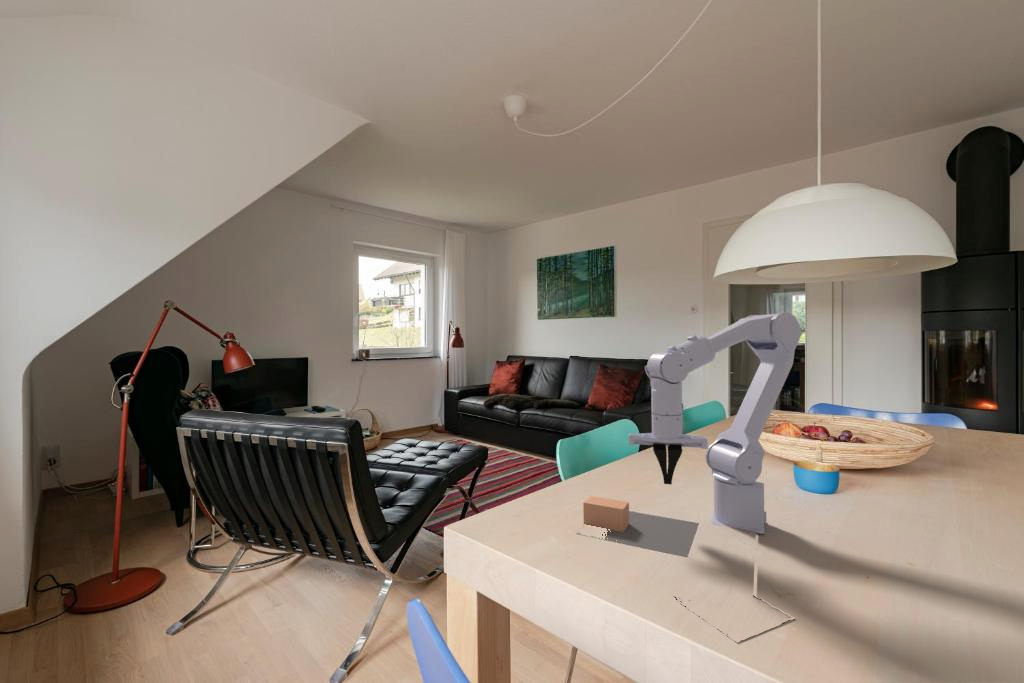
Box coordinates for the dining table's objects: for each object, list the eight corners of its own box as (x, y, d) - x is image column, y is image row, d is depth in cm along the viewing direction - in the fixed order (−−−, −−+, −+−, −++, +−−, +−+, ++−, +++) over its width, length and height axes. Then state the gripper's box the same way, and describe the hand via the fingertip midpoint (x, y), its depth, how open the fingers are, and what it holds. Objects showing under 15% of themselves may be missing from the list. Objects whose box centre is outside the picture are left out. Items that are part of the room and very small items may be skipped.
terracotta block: (628, 502, 90) (590, 495, 94) (622, 509, 87) (583, 502, 90) (629, 523, 90) (591, 516, 94) (623, 532, 87) (583, 524, 90)
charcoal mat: (698, 526, 90) (698, 523, 90) (686, 560, 76) (686, 557, 76) (602, 509, 100) (602, 506, 100) (575, 536, 86) (575, 533, 86)
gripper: (704, 411, 90) (705, 479, 90) (629, 409, 94) (630, 474, 94) (708, 417, 83) (709, 490, 83) (627, 414, 88) (628, 484, 88)
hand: (667, 482), depth 88 cm, fingers closed
